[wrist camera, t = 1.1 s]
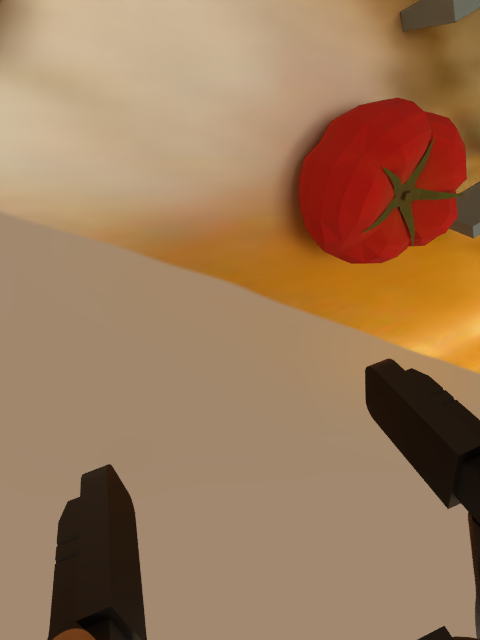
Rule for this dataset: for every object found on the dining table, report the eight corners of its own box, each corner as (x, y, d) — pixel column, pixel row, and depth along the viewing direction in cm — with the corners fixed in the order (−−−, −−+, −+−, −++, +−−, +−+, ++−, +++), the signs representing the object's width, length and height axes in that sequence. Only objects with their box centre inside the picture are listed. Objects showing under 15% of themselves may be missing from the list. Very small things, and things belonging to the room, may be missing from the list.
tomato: (256, 198, 31) (306, 233, 24) (357, 60, 28) (450, 51, 21) (338, 264, 37) (399, 309, 29) (429, 154, 34) (522, 173, 27)
